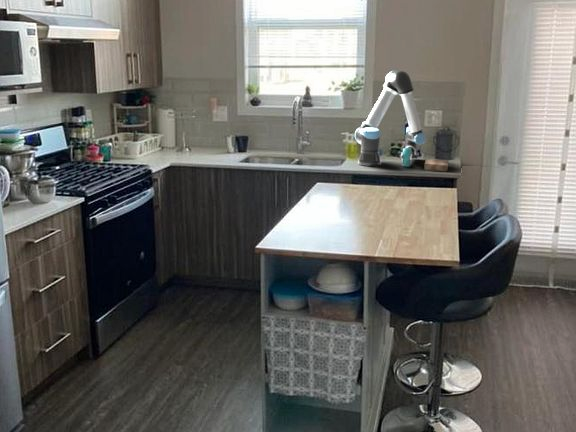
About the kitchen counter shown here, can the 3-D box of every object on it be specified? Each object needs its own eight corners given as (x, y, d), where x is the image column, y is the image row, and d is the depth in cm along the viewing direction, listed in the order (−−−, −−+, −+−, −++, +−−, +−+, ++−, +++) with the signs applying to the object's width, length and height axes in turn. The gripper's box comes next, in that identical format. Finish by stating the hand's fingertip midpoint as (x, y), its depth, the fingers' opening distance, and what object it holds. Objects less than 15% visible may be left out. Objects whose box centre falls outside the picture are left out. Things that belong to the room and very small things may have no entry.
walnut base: (424, 170, 399) (424, 163, 398) (425, 165, 416) (426, 159, 415) (446, 171, 396) (447, 165, 395) (447, 166, 412) (448, 160, 411)
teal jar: (401, 166, 409) (402, 149, 406) (402, 164, 414) (403, 147, 411) (410, 166, 407) (411, 149, 404) (410, 165, 412) (411, 148, 410)
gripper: (422, 158, 424) (420, 164, 403) (395, 156, 429) (391, 162, 407) (423, 147, 422) (421, 152, 401) (395, 145, 427) (391, 150, 405)
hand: (405, 157), depth 404 cm, fingers closed on teal jar, 5 cm apart
